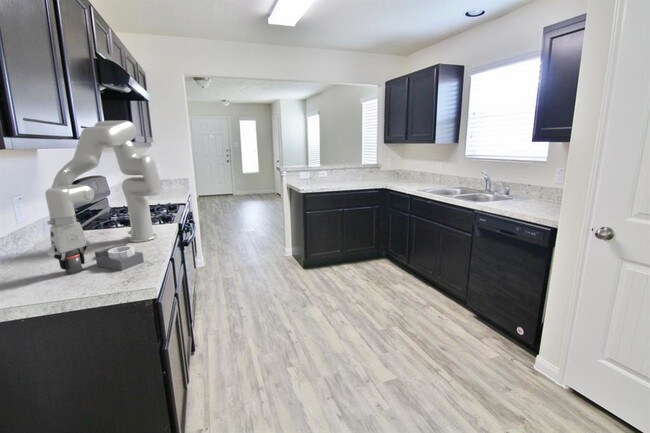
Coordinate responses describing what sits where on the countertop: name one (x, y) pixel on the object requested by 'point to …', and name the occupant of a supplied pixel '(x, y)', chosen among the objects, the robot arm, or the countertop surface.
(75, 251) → the lens
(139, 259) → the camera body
